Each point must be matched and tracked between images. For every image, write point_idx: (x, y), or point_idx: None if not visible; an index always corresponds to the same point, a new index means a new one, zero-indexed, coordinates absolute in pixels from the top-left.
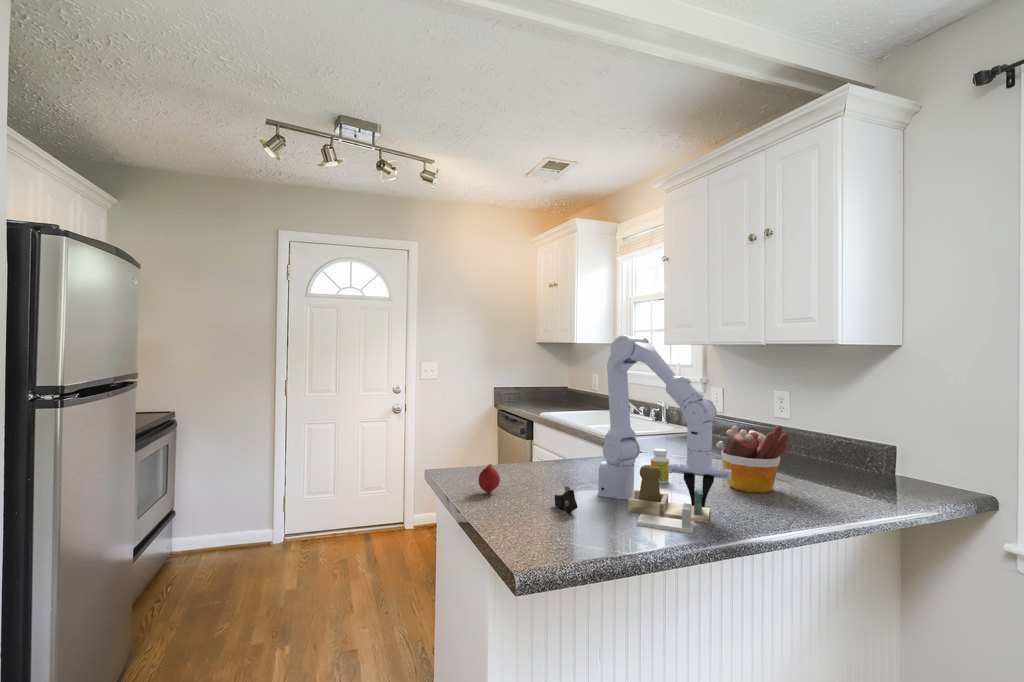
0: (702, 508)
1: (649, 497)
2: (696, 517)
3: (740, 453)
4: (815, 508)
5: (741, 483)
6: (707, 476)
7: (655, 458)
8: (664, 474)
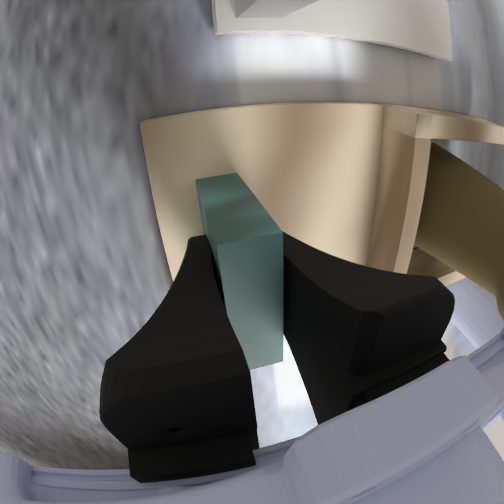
0: None
1: (470, 171)
2: (215, 122)
3: None
4: (13, 447)
5: None
6: (206, 457)
7: None
8: None
